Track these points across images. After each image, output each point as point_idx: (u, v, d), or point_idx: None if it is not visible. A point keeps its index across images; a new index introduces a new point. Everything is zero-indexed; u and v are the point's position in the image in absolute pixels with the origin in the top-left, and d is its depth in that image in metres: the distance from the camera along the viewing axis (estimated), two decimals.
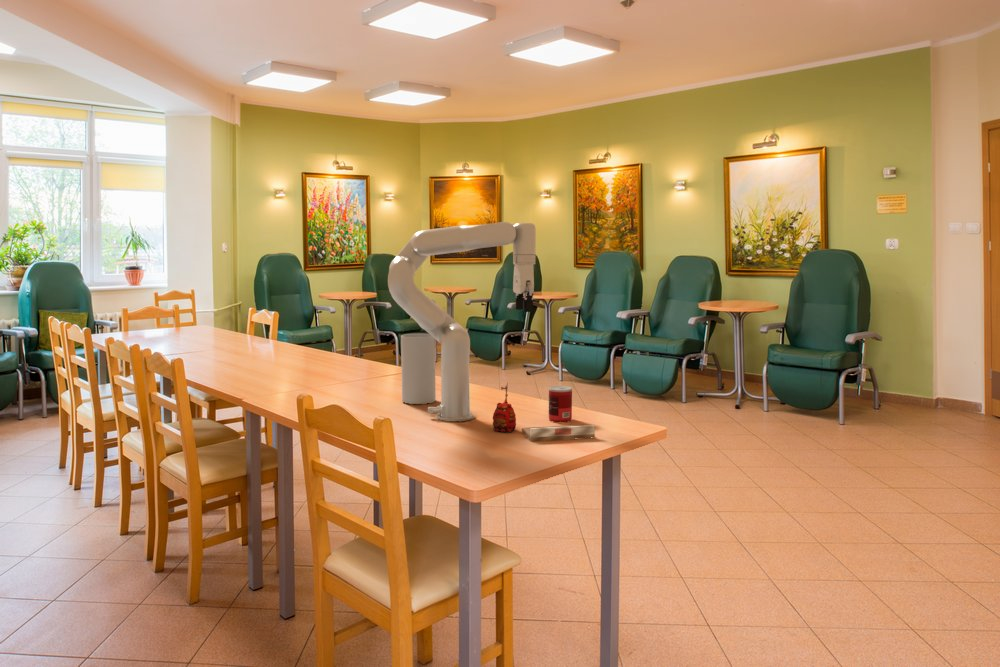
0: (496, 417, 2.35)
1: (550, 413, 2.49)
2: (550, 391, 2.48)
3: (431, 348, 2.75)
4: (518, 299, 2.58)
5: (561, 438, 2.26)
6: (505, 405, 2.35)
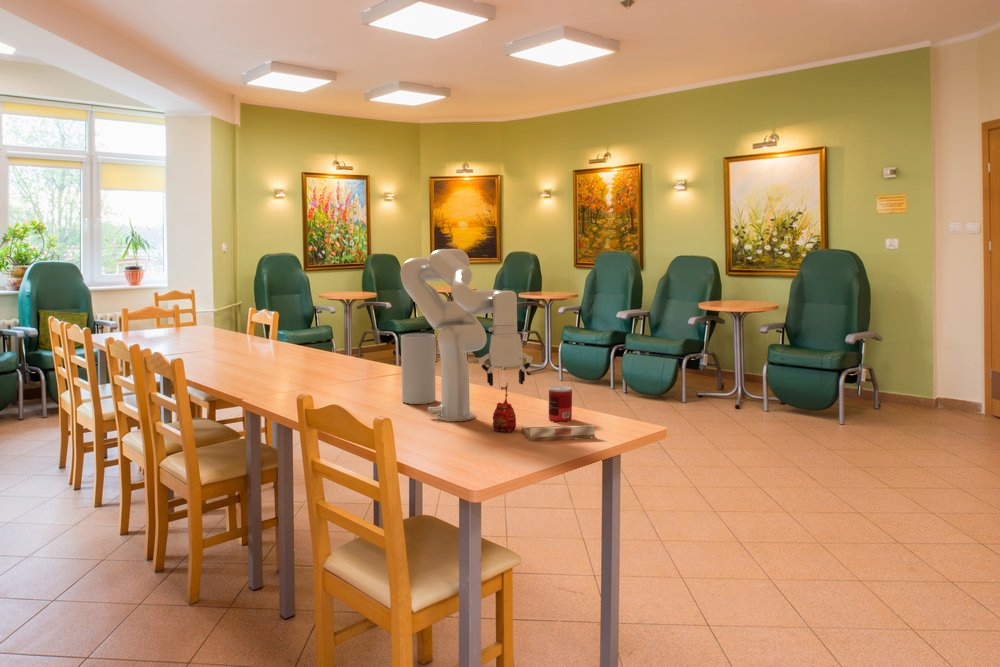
0: (496, 417, 2.35)
1: (550, 413, 2.49)
2: (550, 391, 2.48)
3: (431, 348, 2.75)
4: None
5: (561, 438, 2.26)
6: (505, 405, 2.35)
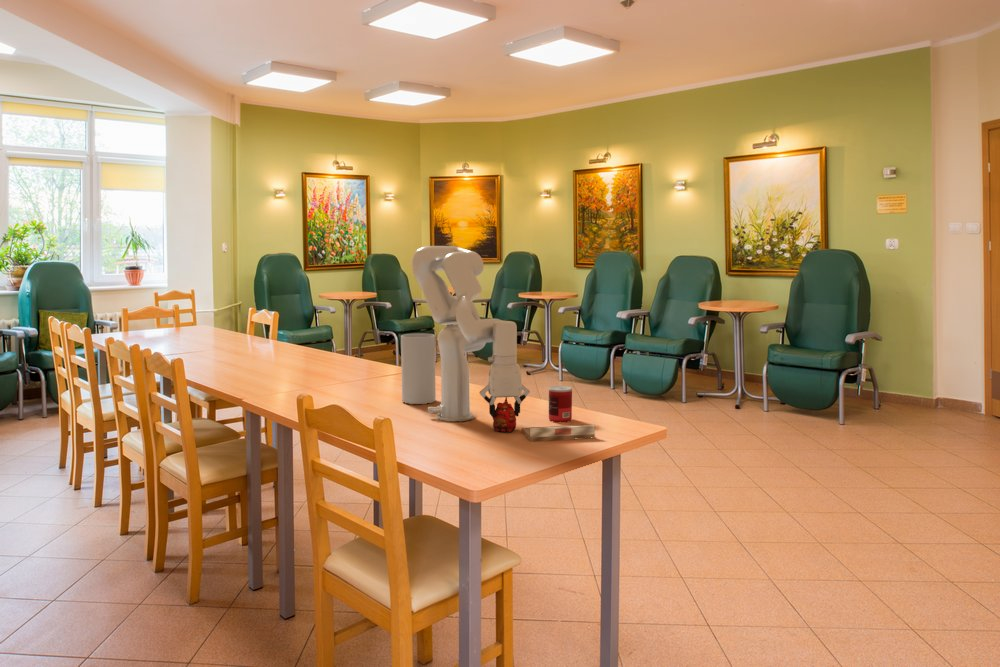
0: (496, 417, 2.35)
1: (550, 413, 2.49)
2: (550, 391, 2.48)
3: (431, 348, 2.75)
4: None
5: (561, 438, 2.26)
6: (505, 405, 2.35)
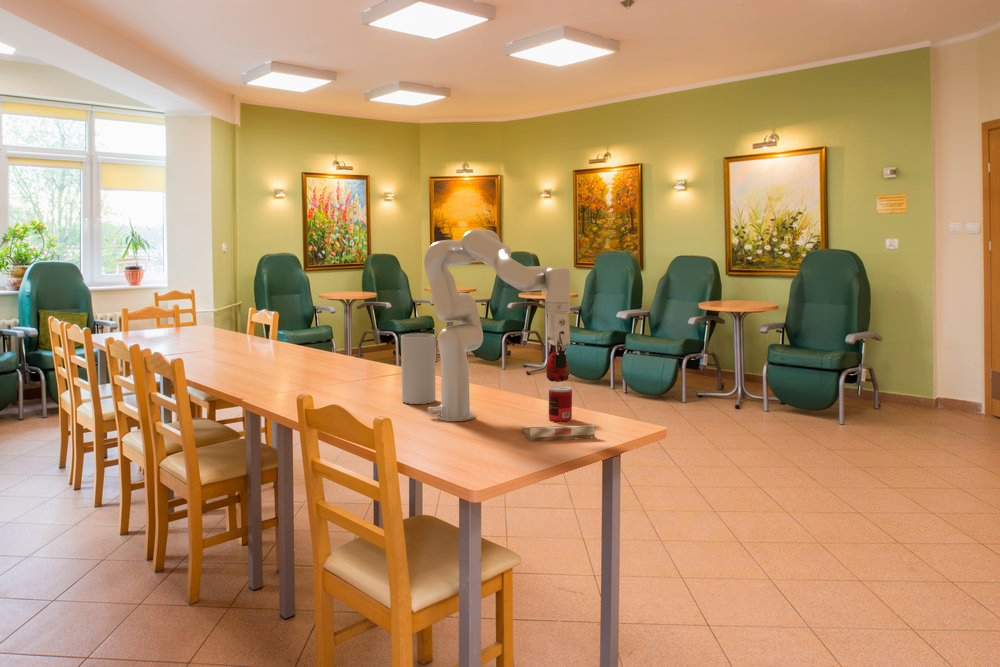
0: None
1: (550, 413, 2.49)
2: (550, 391, 2.48)
3: (431, 348, 2.75)
4: None
5: (561, 438, 2.26)
6: None
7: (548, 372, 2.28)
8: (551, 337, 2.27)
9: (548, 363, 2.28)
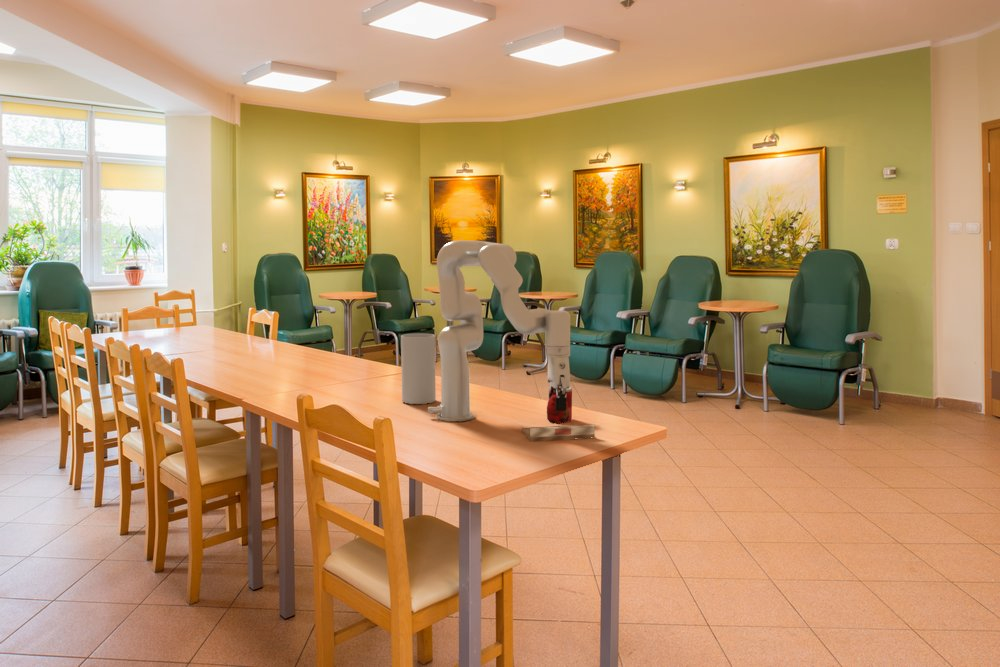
0: None
1: None
2: None
3: (431, 348, 2.75)
4: None
5: (561, 438, 2.26)
6: None
7: (549, 414, 2.30)
8: (551, 380, 2.28)
9: (548, 405, 2.30)
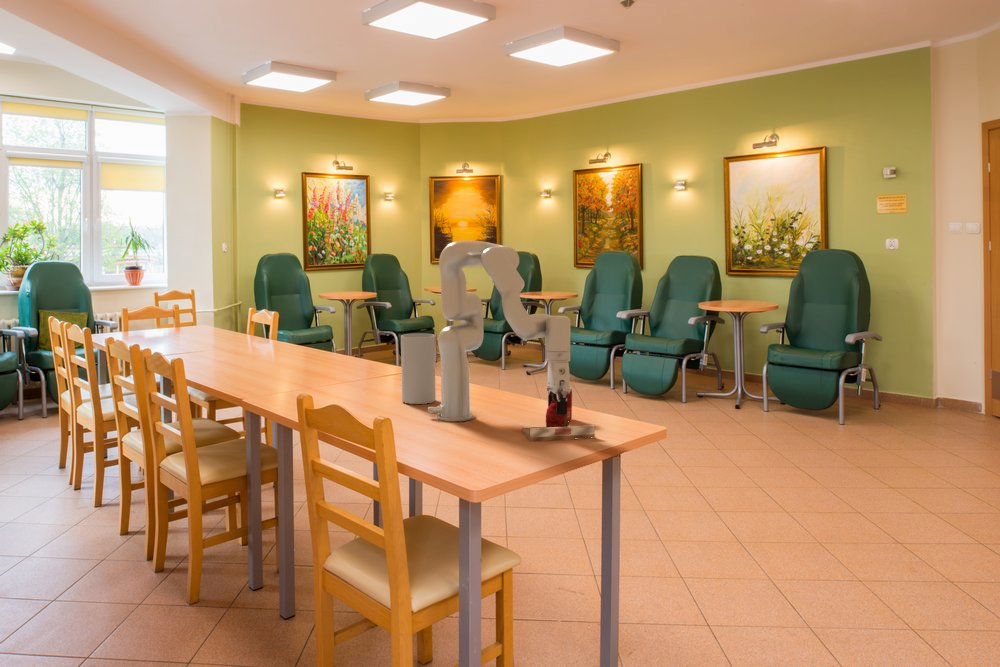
0: (563, 417, 2.29)
1: None
2: None
3: (431, 348, 2.75)
4: None
5: (561, 438, 2.26)
6: None
7: (547, 422, 2.30)
8: (551, 385, 2.29)
9: (547, 413, 2.30)
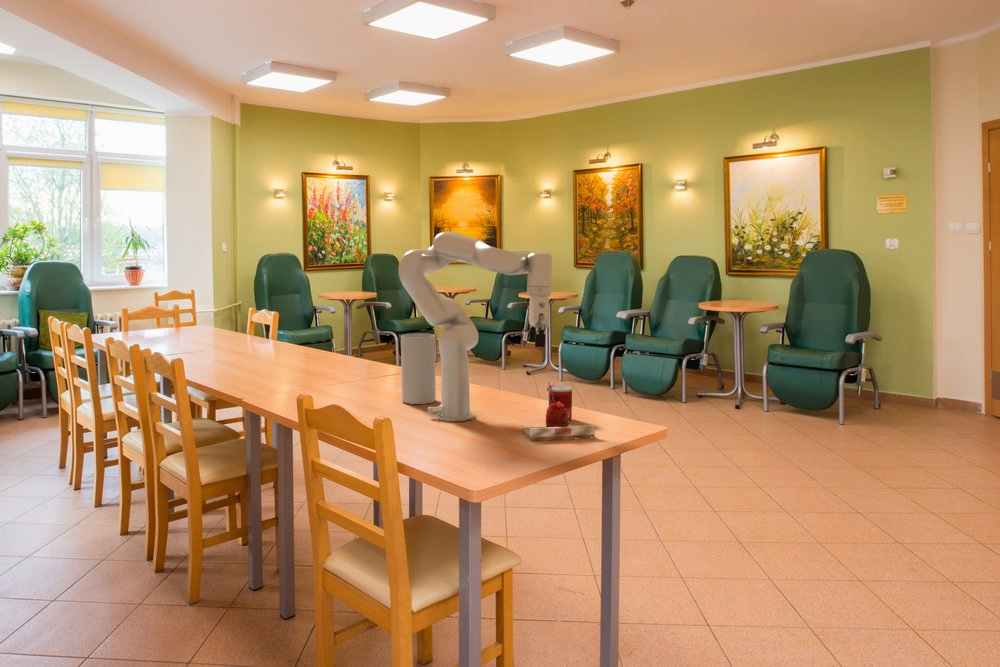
0: (563, 417, 2.29)
1: None
2: (550, 391, 2.48)
3: (431, 348, 2.75)
4: None
5: (561, 438, 2.26)
6: (561, 403, 2.32)
7: (547, 422, 2.30)
8: (531, 319, 2.38)
9: (547, 413, 2.30)
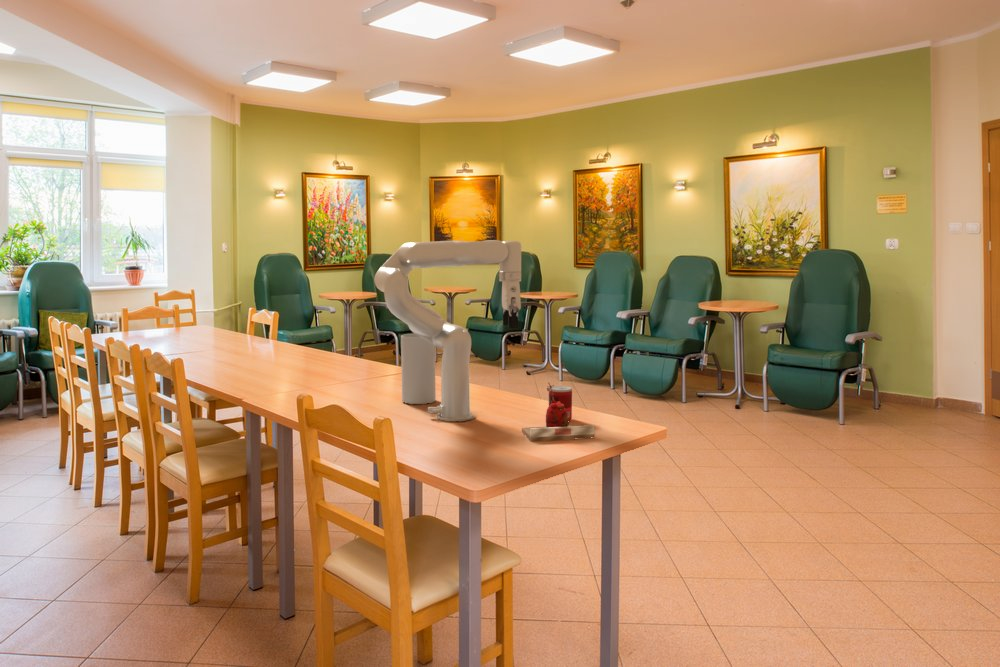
0: (563, 417, 2.29)
1: None
2: (550, 391, 2.48)
3: (431, 348, 2.75)
4: None
5: (561, 438, 2.26)
6: (561, 403, 2.32)
7: (547, 422, 2.30)
8: (504, 302, 2.57)
9: (547, 413, 2.30)
